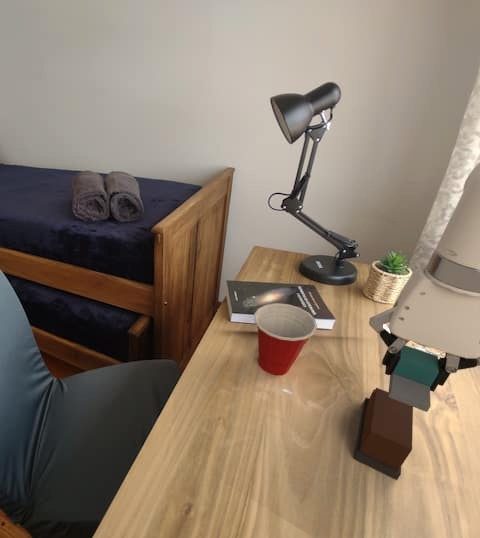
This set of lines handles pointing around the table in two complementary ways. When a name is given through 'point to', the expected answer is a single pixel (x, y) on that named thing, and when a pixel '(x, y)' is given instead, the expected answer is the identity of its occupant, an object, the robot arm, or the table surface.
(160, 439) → the table surface
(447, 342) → the robot arm
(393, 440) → the chocolate bar chunk
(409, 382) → the teal block
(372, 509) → the table surface
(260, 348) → the plastic cup
